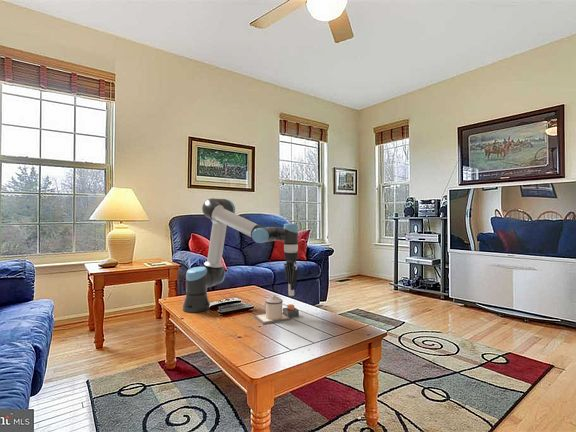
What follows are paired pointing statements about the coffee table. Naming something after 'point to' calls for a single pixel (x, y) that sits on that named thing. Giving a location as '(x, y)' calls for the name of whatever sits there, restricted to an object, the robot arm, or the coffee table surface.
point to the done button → (290, 307)
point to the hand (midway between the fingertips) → (291, 295)
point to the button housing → (291, 312)
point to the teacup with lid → (273, 308)
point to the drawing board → (264, 320)
